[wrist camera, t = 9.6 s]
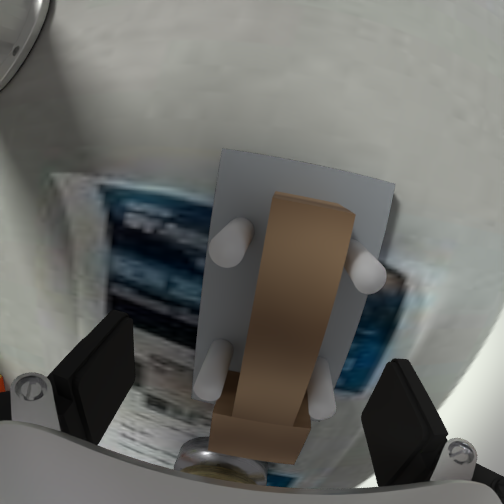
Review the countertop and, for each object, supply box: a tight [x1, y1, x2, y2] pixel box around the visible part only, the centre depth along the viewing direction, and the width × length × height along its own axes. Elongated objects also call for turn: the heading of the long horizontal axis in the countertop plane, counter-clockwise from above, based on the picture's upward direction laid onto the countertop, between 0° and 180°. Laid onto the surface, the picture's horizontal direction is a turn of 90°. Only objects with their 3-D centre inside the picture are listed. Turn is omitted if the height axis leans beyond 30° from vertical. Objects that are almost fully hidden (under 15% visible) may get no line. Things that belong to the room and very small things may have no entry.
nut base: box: [174, 437, 268, 486], centre depth 22 cm, size 12×8×2 cm, turn 170°
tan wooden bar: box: [208, 191, 356, 465], centre depth 15 cm, size 15×5×4 cm, turn 170°
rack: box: [191, 148, 395, 421], centre depth 15 cm, size 16×9×5 cm, turn 170°
